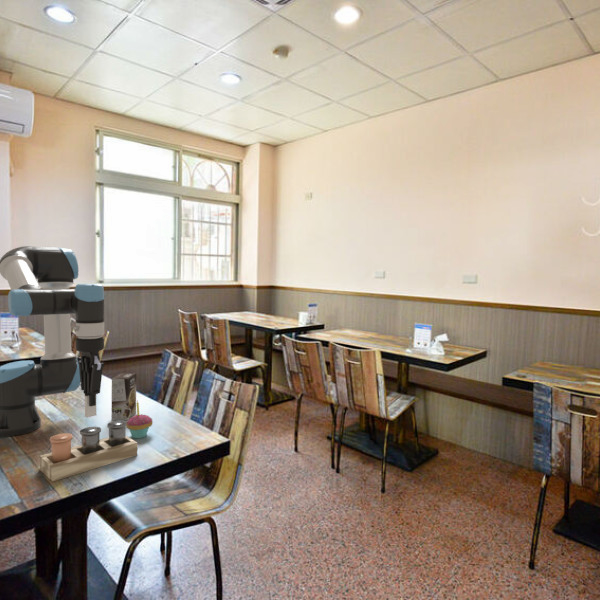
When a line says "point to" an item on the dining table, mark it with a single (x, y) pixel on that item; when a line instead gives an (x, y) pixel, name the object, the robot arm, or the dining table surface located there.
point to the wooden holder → (87, 459)
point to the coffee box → (123, 396)
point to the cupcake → (139, 424)
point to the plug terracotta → (61, 447)
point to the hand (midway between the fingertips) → (90, 415)
